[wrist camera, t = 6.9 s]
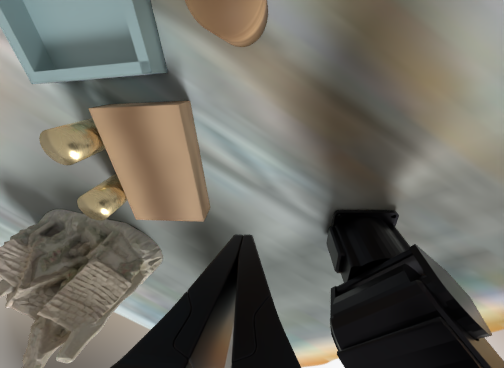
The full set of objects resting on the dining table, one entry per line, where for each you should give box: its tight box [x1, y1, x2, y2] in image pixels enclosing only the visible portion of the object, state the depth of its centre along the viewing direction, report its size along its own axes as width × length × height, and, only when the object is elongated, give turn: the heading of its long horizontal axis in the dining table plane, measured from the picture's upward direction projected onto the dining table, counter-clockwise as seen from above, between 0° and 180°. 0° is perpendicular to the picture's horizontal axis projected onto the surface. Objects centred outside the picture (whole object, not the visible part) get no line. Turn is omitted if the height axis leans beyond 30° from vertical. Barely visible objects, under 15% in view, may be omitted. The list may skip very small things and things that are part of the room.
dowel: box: [185, 0, 268, 47], centre depth 12 cm, size 4×4×6 cm
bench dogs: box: [40, 118, 128, 221], centre depth 20 cm, size 3×9×5 cm, turn 4°
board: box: [88, 101, 210, 222], centre depth 21 cm, size 8×12×3 cm, turn 3°
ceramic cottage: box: [0, 209, 163, 368], centre depth 23 cm, size 16×16×15 cm
